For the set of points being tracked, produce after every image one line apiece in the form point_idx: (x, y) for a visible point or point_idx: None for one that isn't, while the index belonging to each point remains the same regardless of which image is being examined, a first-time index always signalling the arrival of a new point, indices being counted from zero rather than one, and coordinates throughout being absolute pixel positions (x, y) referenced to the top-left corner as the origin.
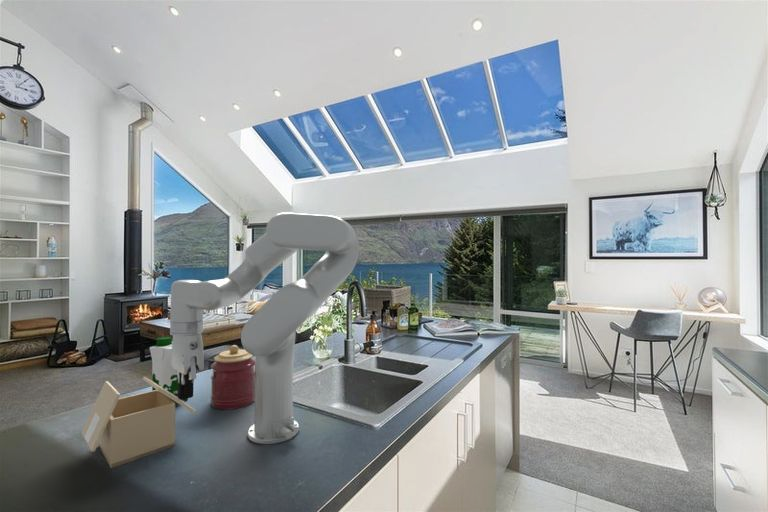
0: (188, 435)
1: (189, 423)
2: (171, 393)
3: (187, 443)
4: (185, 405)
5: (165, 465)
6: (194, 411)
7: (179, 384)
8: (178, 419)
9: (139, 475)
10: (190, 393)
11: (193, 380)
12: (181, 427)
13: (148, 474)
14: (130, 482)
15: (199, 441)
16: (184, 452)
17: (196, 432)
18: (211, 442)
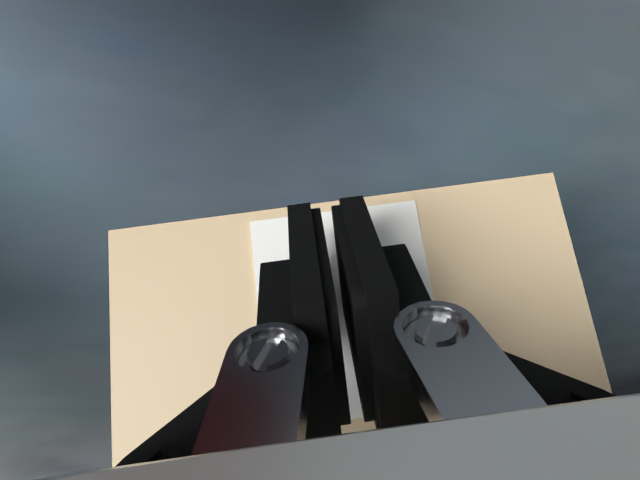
0: (399, 142)
1: (211, 97)
2: (114, 339)
3: (497, 168)
4: (586, 303)
5: (623, 282)
6: (553, 193)
7: (340, 424)
8: (92, 145)
9: (608, 358)
10: (404, 251)
11: (476, 329)
12: (247, 153)
13: (631, 335)
14: (628, 381)
15: (530, 107)
16: (583, 199)
17: (392, 91)
18: (605, 48)
